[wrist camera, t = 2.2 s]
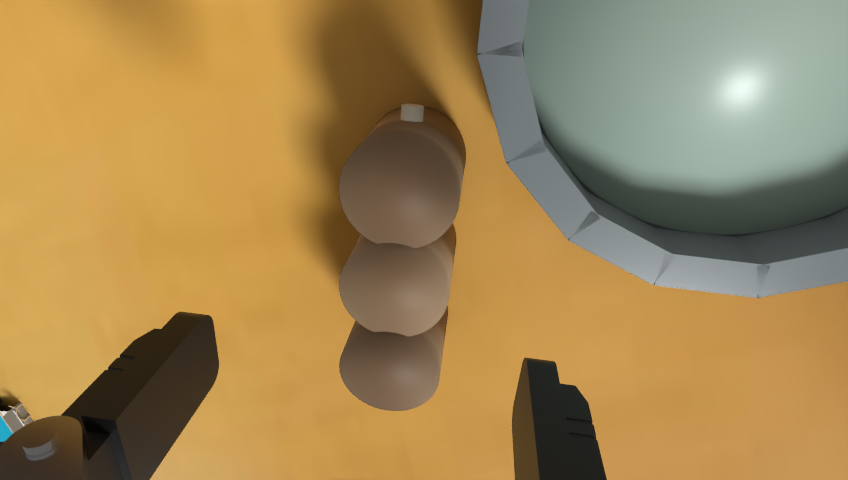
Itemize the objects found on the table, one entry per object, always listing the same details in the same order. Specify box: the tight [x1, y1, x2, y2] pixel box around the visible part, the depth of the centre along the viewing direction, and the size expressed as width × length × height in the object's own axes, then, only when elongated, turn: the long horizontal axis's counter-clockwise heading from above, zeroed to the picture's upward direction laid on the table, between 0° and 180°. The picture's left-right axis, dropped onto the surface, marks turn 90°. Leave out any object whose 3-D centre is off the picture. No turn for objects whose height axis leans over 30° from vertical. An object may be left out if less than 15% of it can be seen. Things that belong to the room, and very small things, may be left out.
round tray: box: [477, 0, 848, 298], centre depth 14 cm, size 16×16×3 cm
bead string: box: [339, 103, 466, 411], centre depth 18 cm, size 4×11×4 cm, turn 176°
